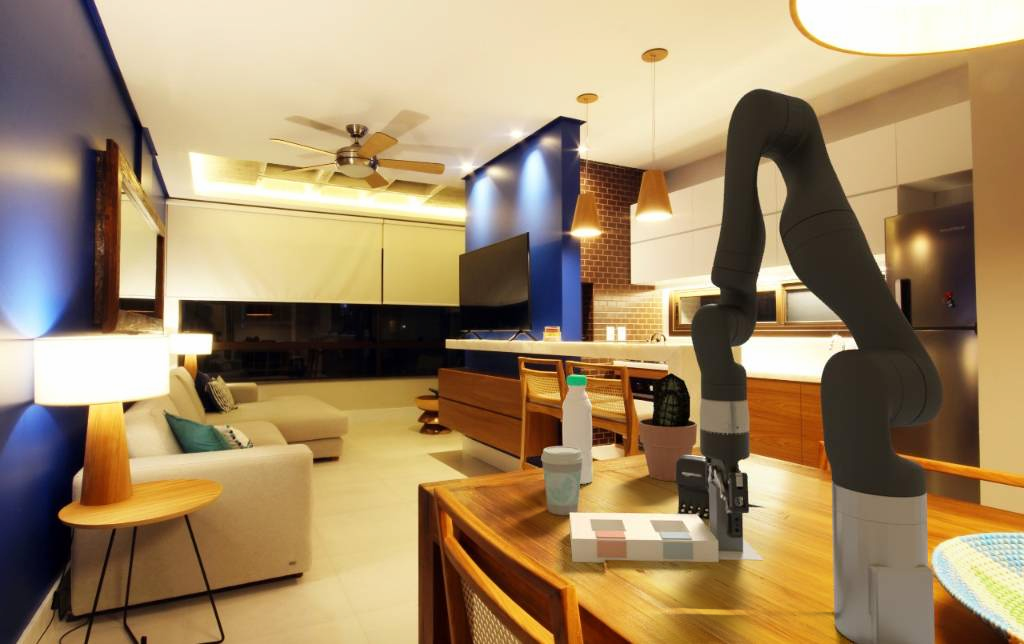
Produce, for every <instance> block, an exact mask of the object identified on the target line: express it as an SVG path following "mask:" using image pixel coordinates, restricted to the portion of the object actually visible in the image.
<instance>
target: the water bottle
mask: <svg viewBox="0 0 1024 644" xmlns="http://www.w3.org/2000/svg"><path fill="white" fill-rule="evenodd" d="M587 379H588V378H587V376H586V375H582V374H571V375H568V376H567V377H566V386H567V388H568V391H567V393H566V395H565V399H564V400H563V402H562V406H561V408H562V428H561V429H562V446H570V447H576V448H579V449H580V450H581V452H582V455H583V459H584V461H583V462H582V470H581V480H580V484H582V485H588V484H591V482H592V481H593V480H594V471H593V460H594V459H593V457H594V455H593V451H592V450H593V417H592V410H593V405H592V402H591V400H590V399H589V396H588V393H587V391H586V388H587V384H588V380H587ZM587 483H588V484H587Z"/></svg>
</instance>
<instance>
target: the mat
mask: <svg viewBox="0 0 1024 644" xmlns="http://www.w3.org/2000/svg"><path fill="white" fill-rule="evenodd" d="M718 560H729V561H730V560H731V561H732V560H734V561H735V560H736V561H737V560H738V561H739V560H740V561H741V560H742V561H764V559H763V558H762V556H761V555H759V553H758V552H757V551H756V550H755V549H754V548H753V547H752V546H751V545H750V543H749V542H748V541H747V540H746V539H745V538H744V537H743V552H737V551H718Z"/></svg>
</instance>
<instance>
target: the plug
mask: <svg viewBox="0 0 1024 644" xmlns="http://www.w3.org/2000/svg"><path fill="white" fill-rule="evenodd" d="M727 492H729V491H727ZM735 505H738V503H737V500H736V499H735ZM726 512H727V511H726V507H725V502H724V500H723V499H722V498H721V497H720V493H719V489H718V484H717V481H716V480H715V478H714V481H709V516H710V519H709V530H710V531H711V533H712V534H713V535H714V536H715V538H716V539H717V540H718V551H737V552H743V538H744V535H743V536H742V537H741V538H730V537H729V536H728V535H727V523H726ZM743 514H744V513H742V518H743V517H744V516H743ZM743 519H744V518H743Z"/></svg>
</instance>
